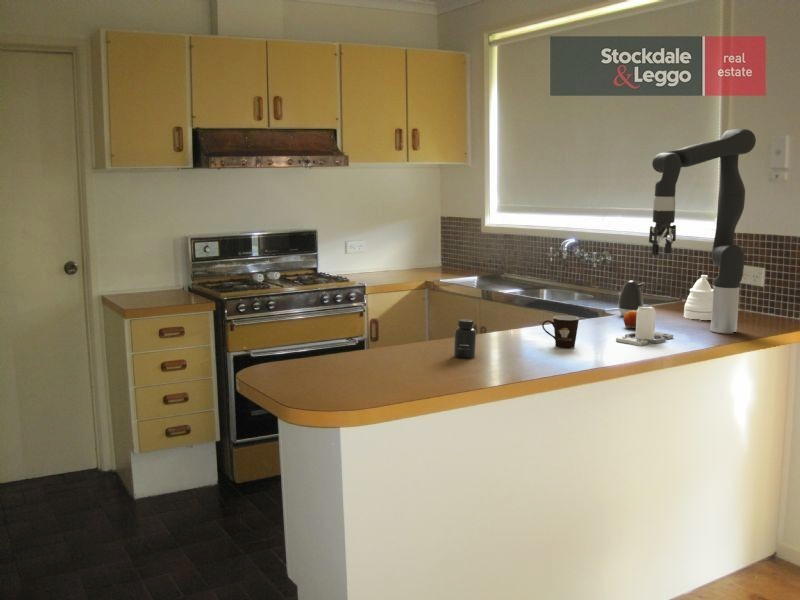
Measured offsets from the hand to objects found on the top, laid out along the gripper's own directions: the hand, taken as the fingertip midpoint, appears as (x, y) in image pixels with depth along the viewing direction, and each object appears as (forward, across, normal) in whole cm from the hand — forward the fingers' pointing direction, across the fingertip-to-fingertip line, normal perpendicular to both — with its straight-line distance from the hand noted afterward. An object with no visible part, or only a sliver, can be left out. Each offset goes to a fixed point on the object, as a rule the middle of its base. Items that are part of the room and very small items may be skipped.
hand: (661, 254), depth 305 cm
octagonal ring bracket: (+30, +10, +1) cm, 32 cm away
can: (+30, +10, +1) cm, 32 cm away
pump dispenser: (+30, -30, -30) cm, 52 cm away
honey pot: (+30, -49, -9) cm, 58 cm away
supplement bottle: (+30, +80, -22) cm, 88 cm away
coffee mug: (+30, +42, -12) cm, 53 cm away
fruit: (+30, -7, -14) cm, 34 cm away
